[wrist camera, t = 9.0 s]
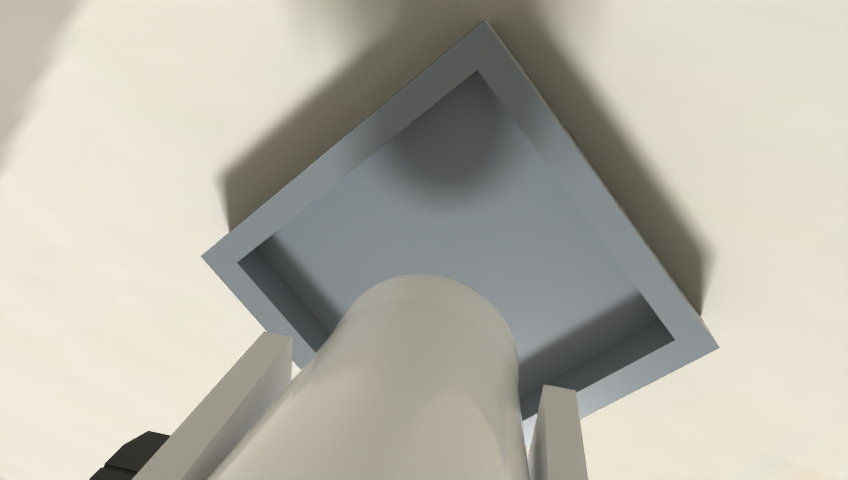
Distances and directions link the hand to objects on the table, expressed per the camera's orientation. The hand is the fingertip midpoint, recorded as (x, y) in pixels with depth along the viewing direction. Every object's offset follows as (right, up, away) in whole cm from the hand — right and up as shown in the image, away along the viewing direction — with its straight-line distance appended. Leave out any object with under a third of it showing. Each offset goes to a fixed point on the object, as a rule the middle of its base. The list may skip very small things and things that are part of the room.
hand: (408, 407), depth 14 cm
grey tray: (+2, +3, +8) cm, 8 cm away
